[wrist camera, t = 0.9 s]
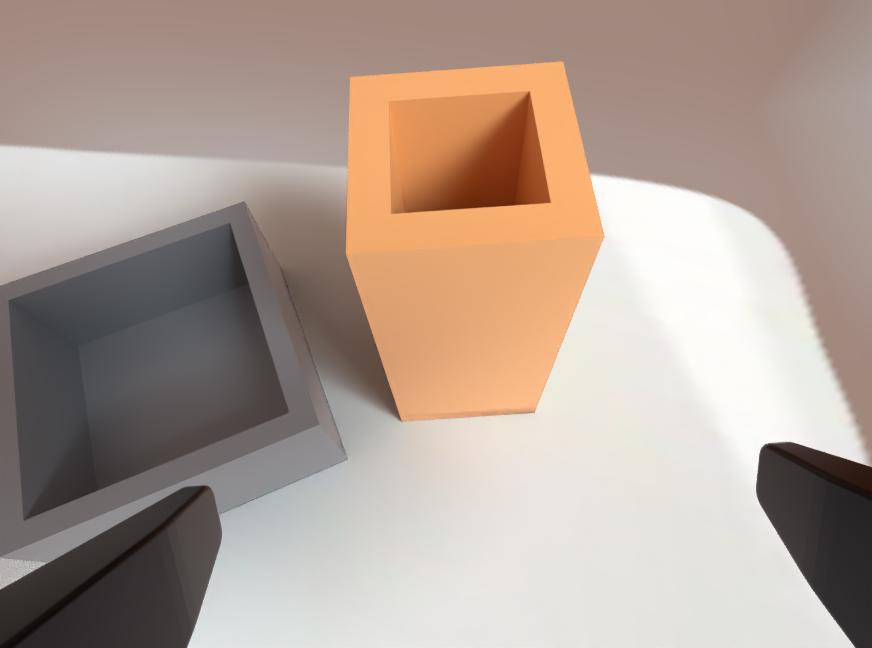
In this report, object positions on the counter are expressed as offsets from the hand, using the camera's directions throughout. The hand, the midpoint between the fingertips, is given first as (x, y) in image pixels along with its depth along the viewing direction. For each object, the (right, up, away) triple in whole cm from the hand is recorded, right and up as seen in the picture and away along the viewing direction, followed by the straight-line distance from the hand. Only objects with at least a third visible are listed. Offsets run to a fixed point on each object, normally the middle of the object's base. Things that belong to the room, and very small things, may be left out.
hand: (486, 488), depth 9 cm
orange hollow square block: (0, +1, +15) cm, 15 cm away
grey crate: (-11, -1, +15) cm, 19 cm away
